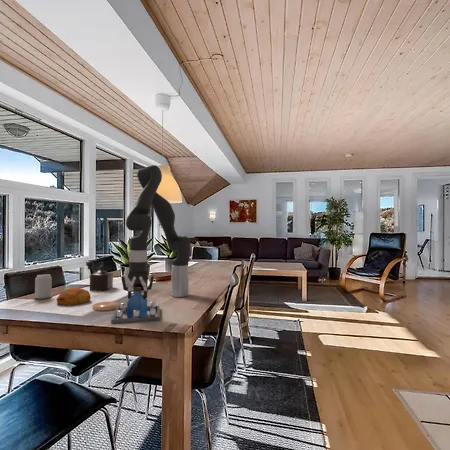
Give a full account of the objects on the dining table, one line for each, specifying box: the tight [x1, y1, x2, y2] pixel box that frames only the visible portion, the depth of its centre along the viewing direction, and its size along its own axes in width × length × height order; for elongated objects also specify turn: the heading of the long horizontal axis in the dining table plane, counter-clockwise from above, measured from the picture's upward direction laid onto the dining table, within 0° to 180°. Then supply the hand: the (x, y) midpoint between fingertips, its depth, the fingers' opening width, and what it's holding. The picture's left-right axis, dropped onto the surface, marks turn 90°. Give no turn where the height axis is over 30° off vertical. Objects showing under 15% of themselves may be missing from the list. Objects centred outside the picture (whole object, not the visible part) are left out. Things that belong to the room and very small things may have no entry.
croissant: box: [55, 287, 92, 306], centre depth 151 cm, size 14×16×8 cm
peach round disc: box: [92, 301, 120, 312], centre depth 143 cm, size 12×12×1 cm
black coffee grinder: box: [85, 260, 114, 292], centre depth 180 cm, size 16×11×18 cm
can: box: [34, 273, 53, 300], centre depth 159 cm, size 8×8×12 cm
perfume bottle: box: [126, 286, 148, 318], centre depth 130 cm, size 6×6×12 cm
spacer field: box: [110, 301, 161, 324], centre depth 130 cm, size 19×18×4 cm
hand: (137, 299), depth 130 cm, fingers closed on perfume bottle, 5 cm apart
